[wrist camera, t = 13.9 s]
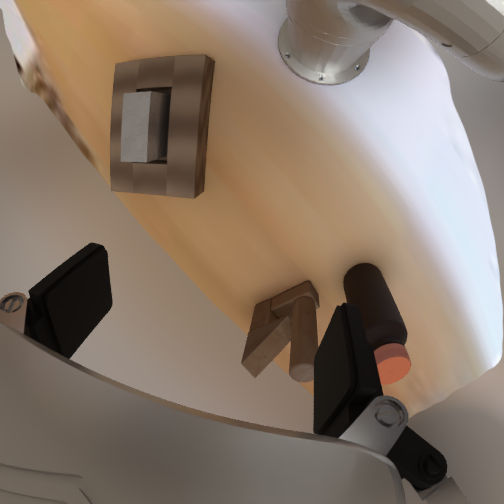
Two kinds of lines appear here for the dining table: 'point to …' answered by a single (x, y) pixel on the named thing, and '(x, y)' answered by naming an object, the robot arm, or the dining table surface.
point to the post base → (180, 125)
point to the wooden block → (284, 332)
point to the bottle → (379, 320)
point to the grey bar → (145, 126)
